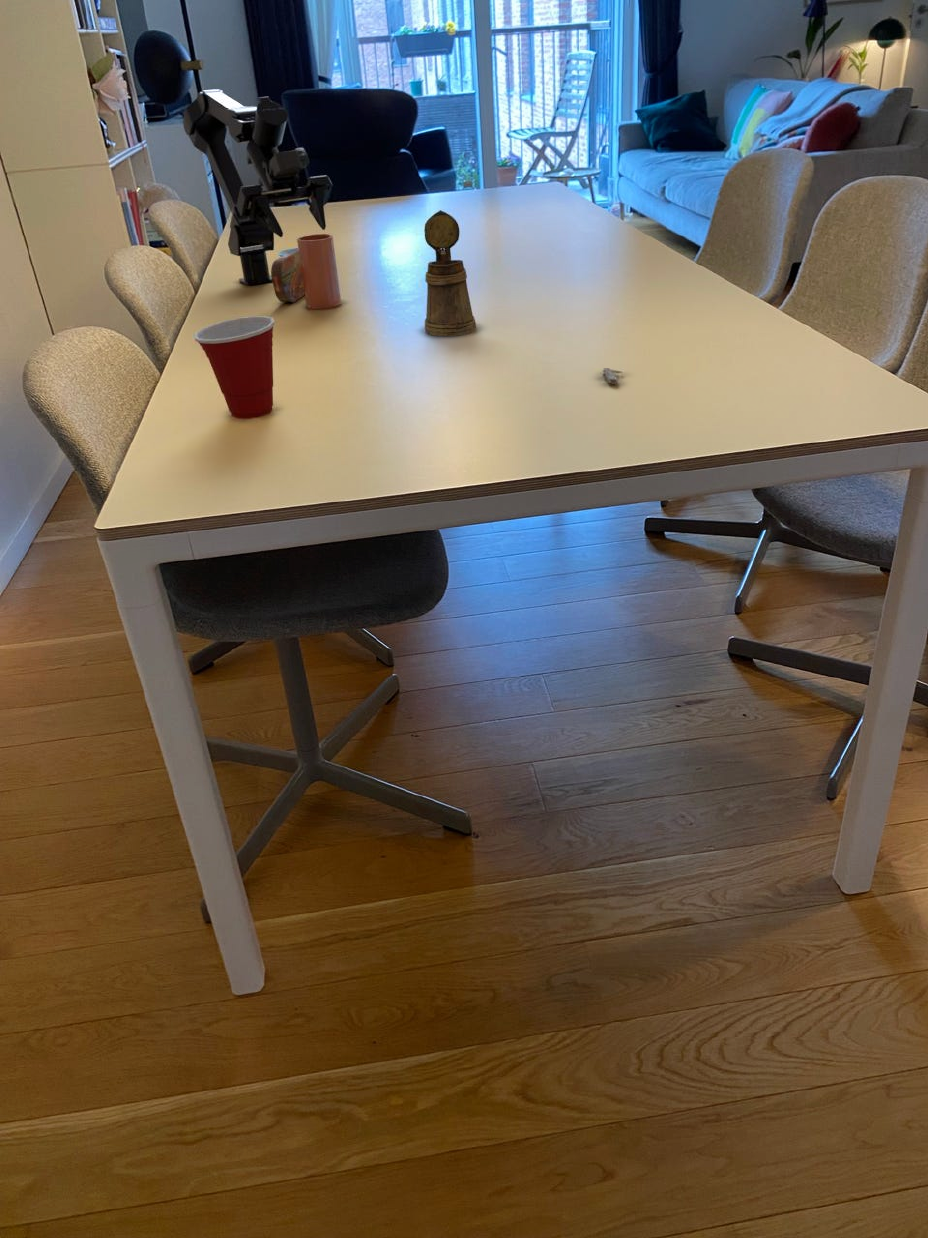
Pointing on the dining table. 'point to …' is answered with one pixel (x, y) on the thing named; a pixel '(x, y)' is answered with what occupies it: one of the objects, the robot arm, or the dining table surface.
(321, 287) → the pot
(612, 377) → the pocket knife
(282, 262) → the tin
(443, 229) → the wooden mug
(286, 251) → the saucer
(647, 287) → the dining table surface
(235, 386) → the plastic cup
